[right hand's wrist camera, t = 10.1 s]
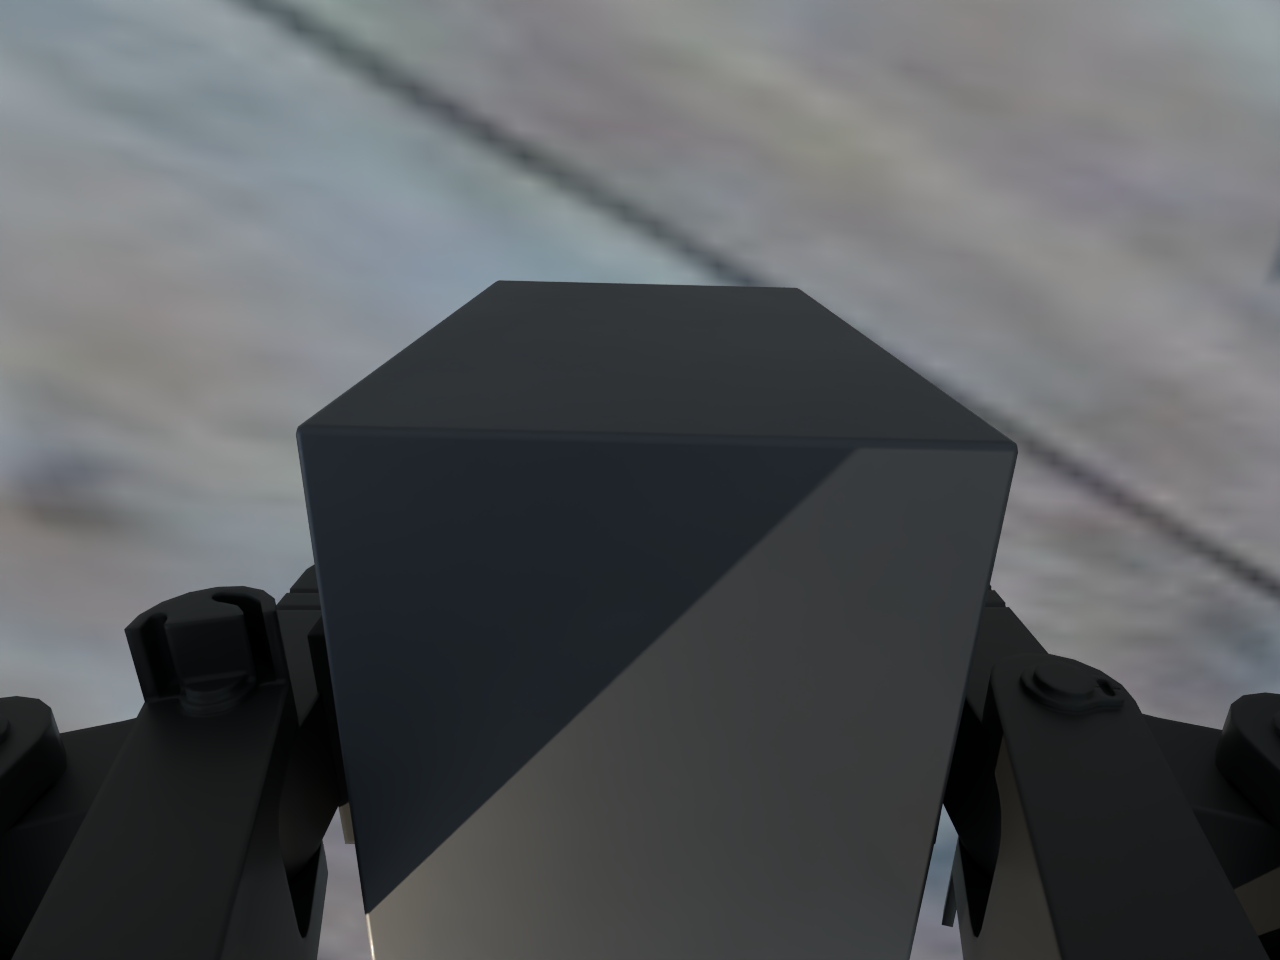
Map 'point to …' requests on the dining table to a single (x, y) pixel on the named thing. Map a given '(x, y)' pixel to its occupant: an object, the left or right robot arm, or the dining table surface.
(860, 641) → the beam
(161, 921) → the right robot arm
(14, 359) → the dining table surface
